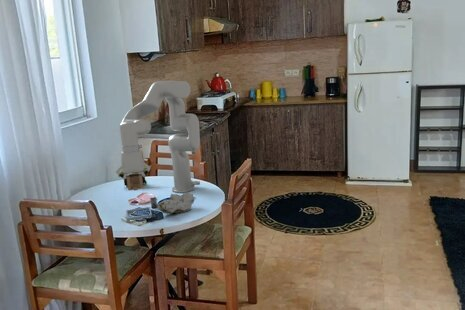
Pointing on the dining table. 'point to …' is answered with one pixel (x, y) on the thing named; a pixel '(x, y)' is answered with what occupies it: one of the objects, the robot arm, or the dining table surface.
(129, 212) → the tray
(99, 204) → the dining table surface
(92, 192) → the dining table surface
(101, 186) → the dining table surface
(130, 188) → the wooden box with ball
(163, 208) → the rock
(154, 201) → the grey rounded cylinder
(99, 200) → the dining table surface
